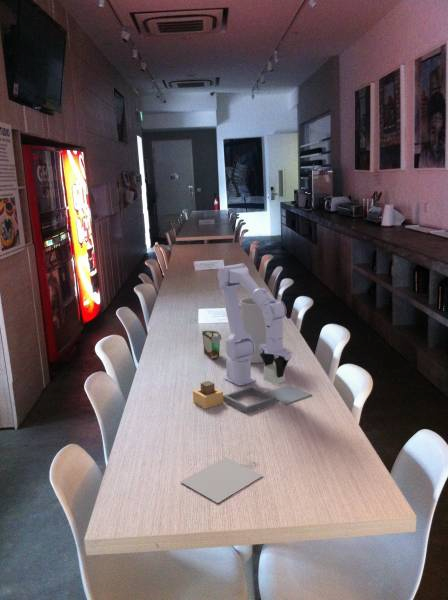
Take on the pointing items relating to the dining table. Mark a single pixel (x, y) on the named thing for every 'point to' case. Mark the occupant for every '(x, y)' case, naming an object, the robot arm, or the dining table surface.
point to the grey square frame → (268, 401)
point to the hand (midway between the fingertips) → (274, 374)
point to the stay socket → (208, 398)
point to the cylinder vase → (253, 326)
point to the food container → (211, 344)
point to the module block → (272, 374)
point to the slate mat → (288, 394)
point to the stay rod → (207, 388)
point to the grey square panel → (221, 479)
